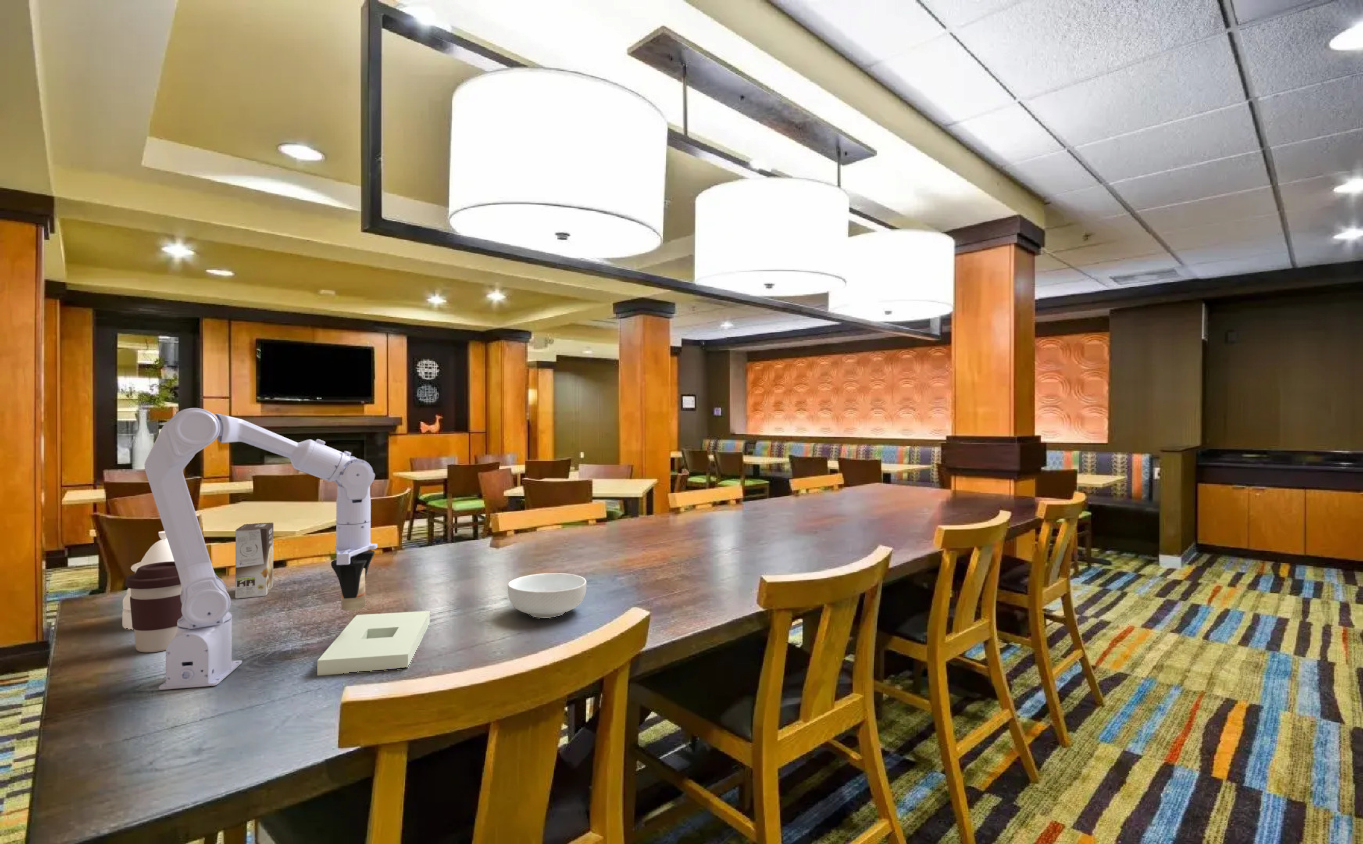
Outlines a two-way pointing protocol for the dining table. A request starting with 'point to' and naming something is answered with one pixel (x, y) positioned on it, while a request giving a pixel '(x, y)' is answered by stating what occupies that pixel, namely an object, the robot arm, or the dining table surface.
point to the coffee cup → (155, 605)
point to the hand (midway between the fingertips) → (353, 594)
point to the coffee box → (254, 560)
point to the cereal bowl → (547, 593)
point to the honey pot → (153, 555)
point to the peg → (359, 600)
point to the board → (375, 643)
